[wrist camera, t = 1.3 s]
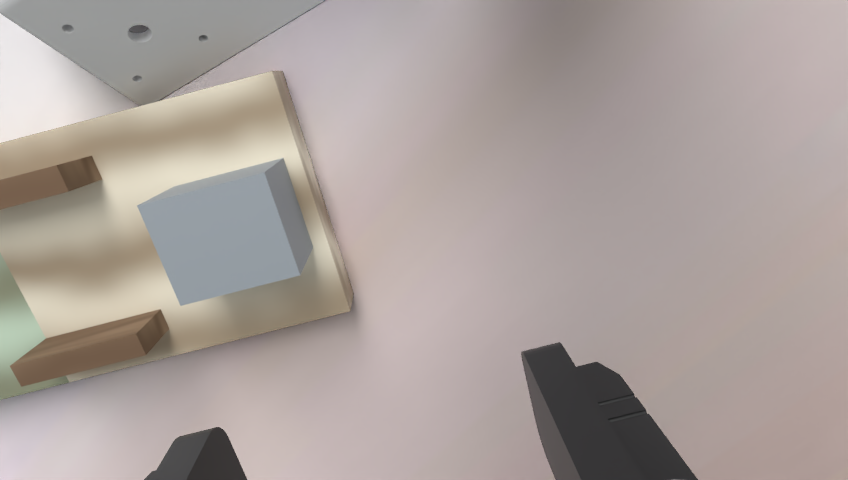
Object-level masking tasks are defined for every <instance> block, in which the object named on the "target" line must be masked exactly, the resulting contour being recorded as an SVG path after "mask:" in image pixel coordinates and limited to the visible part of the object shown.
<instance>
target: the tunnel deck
mask: <svg viewBox="0 0 848 480" xmlns="http://www.w3.org/2000/svg"><path fill="white" fill-rule="evenodd" d="M281 158H284V161H285V164H286V167H287V170H288V173H289V176H290V179H291V182H292V185H293V188H294V191H295V194H296V197H297V200H298V203H299V206H300V209H301V212H302V215H303V218H304V221H305V224H306V227H307V230H308V233H309V236H310V239H311V242H312V245H313V249H312V251H311V253H310V256H309V258H308V260H307V262H306V264H305V266H304V268H303V271H302V273H301V275H300V276H296V277H292V278H288V279H284V280H280V281H276V282H272V283H268V284H264V285H261V286H257V287H253V288H249V289H245V290H241V291H237V292H233V293H229V294H225V295H221V296H217V297H214V298H210V299H206V300H202V301H198V302H194V303H190V304H186V305H182V306H180V304H179V301H178V299H177V297H176V294H175V292H174V290H173V288H172V285H171V283H170V281H169V278H168V276H167V274H166V271H165V269H164V267H163V265H162V262H161V260H160V258H159V255H158V253H157V251H156V248H155V246H154V244H153V241H152V239H151V237H150V235H149V232H148V230H147V228H146V225H145V223H144V221H143V218H142V216H141V214H140V212H139V209H138V207H137V205H139V204H141V203H143V202H145V201H147V200H149V199H151V198H153V197H155V196H157V195H159V194H161V193H163V192H165V191H166V190H168V189H170V188H172V187H174V186H178V185H182V184H185V183H189V182H193V181H197V180H201V179H205V178H208V177H212V176H216V175H220V174H224V173H227V172H231V171H235V170H239V169H243V168H247V167H250V166H254V165H258V164H262V163H266V162H269V161H273V160H277V159H281ZM353 294H354V293H353V290H352V287H351V284H350V281H349V278H348V275H347V272H346V268H345V265H344V262H343V259H342V256H341V253H340V250H339V246H338V243H337V240H336V237H335V234H334V231H333V228H332V225H331V221H330V218H329V215H328V212H327V209H326V206H325V203H324V199H323V196H322V193H321V190H320V187H319V184H318V181H317V178H316V174H315V171H314V168H313V165H312V162H311V159H310V156H309V152H308V149H307V146H306V143H305V140H304V137H303V134H302V131H301V127H300V124H299V121H298V118H297V115H296V112H295V109H294V105H293V102H292V99H291V96H290V93H289V90H288V87H287V84H286V80H285V77H284V74H283V71H270V72H266V73H262V74H259V75H255V76H251V77H247V78H244V79H240V80H236V81H232V82H229V83H225V84H221V85H217V86H214V87H210V88H206V89H202V90H199V91H195V92H191V93H187V94H183V95H180V96H176V97H172V98H168V99H165V100H161V101H157V102H153V103H150V104H146V105H142V106H138V107H135V108H131V109H127V110H123V111H120V112H116V113H112V114H108V115H105V116H101V117H97V118H93V119H90V120H86V121H82V122H78V123H75V124H71V125H67V126H63V127H60V128H56V129H52V130H48V131H44V132H41V133H37V134H33V135H29V136H26V137H22V138H18V139H14V140H11V141H7V142H3V143H0V400H2V399H6V398H10V397H14V396H18V395H22V394H26V393H30V392H33V391H37V390H41V389H45V388H49V387H53V386H57V385H61V384H65V383H69V382H73V381H77V380H81V379H85V378H89V377H93V376H97V375H101V374H105V373H108V372H112V371H116V370H120V369H124V368H128V367H132V366H136V365H140V364H144V363H148V362H152V361H156V360H160V359H164V358H168V357H172V356H176V355H180V354H184V353H187V352H191V351H195V350H199V349H203V348H207V347H211V346H215V345H219V344H223V343H227V342H231V341H235V340H239V339H243V338H247V337H251V336H255V335H259V334H262V333H266V332H270V331H274V330H278V329H282V328H286V327H290V326H294V325H298V324H302V323H306V322H310V321H314V320H318V319H322V318H326V317H330V316H334V315H337V314H341V313H345V312H349V311H350V310H351V305H352V299H353Z"/></svg>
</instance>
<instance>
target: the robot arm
mask: <svg viewBox="0 0 848 480" xmlns="http://www.w3.org/2000/svg"><path fill="white" fill-rule="evenodd" d="M521 355H522V361H523V366H524V371H525V375H526V380H527V384H528V389H529V393H530V398H531V402H532V407H533V411H534V416H535V420H536V424H537V428H538V432H539V435H540V439H541V442H542V445H543V448H544V451H545V454H546V457H547V459H548V462H549V464H550V467H551V469H552V472H553V474H554V477H555V479H556V480H698V479H697V478H696V477H695V475H694V474H693V473H692V471H691V470H690V469H689V467H688V466H687V465H686V463H685V462H684V461H683V459H682V458H681V456H680V455H679V454H678V452H677V451H676V450H675V448H674V447H673V446H672V444H671V443H670V442H669V440H668V439H667V438H666V436H665V435H664V434H663V432H662V431H661V430H660V428H659V427H658V426H657V424H656V423H655V421H654V420H653V419H652V417H651V416H650V415H649V414H647V412H646V409H645V408H644V407H643V405H642V404H641V403H640V401H639V400H638V399H637V397H636V398H635V396H634V393H633V392H632V391H631V389H630V388H629V386H628V385H627V384H626V382H625V381H624V380H623V378H622V377H621V376H620V375H619V374H618V373H616V372H614V371H612V370H610V369H609V368H607V367H605V366H603V365H602V364H600V363H598V362H594V363H590V364H586V365H582V366H578V367H575V365H574V363H573V362H572V360H571V358H570V357H569V355H568V354H567V352H566V350H565V349H564V347H563V345H562V344H561V343H560V342H559V343H555V344H551V345H547V346H543V347H539V348H535V349H531V350H527V351H523V352H521ZM144 480H247V478H246V476H245V474H244V471H243V469H242V467H241V465H240V462H239V460H238V458H237V456H236V453H235V451H234V449H233V447H232V444H231V442H230V440H229V438H228V436H227V434H226V432H225V431H224V430H223V429H221V428H219V427H216V428H212V429H208V430H204V431H200V432H196V433H192V434H188V435H184V436H180V437H178V438H177V439H175V441H174V442H173V443H172V445H171V447H170V448H169V450H168V452H167V453H166V455H165V457H164V458H163V460H162V462H161V463H160V465H159V467H158V468H157V470H156V471H152V472H151V473H150V474H149V475H148V476H147V477H146V478H145V479H144Z"/></svg>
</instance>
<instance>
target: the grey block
mask: <svg viewBox="0 0 848 480" xmlns="http://www.w3.org/2000/svg"><path fill="white" fill-rule="evenodd" d="M137 207H138V209H139V212H140V214H141V216H142V218H143V221H144V223H145V225H146V228H147V230H148V232H149V235H150V237H151V239H152V241H153V244H154V246H155V248H156V251H157V253H158V255H159V258H160V260H161V262H162V265H163V267H164V269H165V271H166V274H167V276H168V278H169V281H170V283H171V285H172V288H173V290H174V292H175V294H176V297H177V299H178V301H179V304H180V306H182V305H186V304H190V303H194V302H198V301H202V300H206V299H210V298H214V297H217V296H221V295H225V294H229V293H233V292H237V291H241V290H245V289H249V288H253V287H257V286H261V285H264V284H268V283H272V282H276V281H280V280H284V279H288V278H292V277H296V276H300V275H301V273H302V271H303V268H304V266H305V264H306V262H307V260H308V258H309V256H310V253H311V251H312V249H313V245H312V242H311V239H310V236H309V233H308V230H307V227H306V224H305V221H304V218H303V215H302V212H301V209H300V206H299V203H298V200H297V197H296V194H295V191H294V188H293V185H292V182H291V179H290V176H289V173H288V170H287V167H286V164H285V161H284V158H281V159H277V160H273V161H269V162H266V163H262V164H258V165H254V166H250V167H247V168H243V169H239V170H235V171H231V172H227V173H224V174H220V175H216V176H212V177H208V178H205V179H201V180H197V181H193V182H189V183H185V184H182V185H178V186H174V187H172V188H170V189H168V190H166V191H165V192H163V193H161V194H159V195H157V196H155V197H153V198H151V199H149V200H147V201H145V202H143V203H141V204H139V205H137Z"/></svg>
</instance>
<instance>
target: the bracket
mask: <svg viewBox="0 0 848 480" xmlns="http://www.w3.org/2000/svg"><path fill="white" fill-rule="evenodd" d="M323 1H325V0H0V13H1V14H2V15H3V16H5V17H6V18H8V19H9V20H11V21H13V22H14V23H16V24H17V25H19V26H20V27H22V28H23V29H25V30H26V31H28V32H29V33H31V34H32V35H34V36H35V37H37V38H38V39H40V40H41V41H43V42H44V43H46V44H47V45H49V46H50V47H52V48H53V49H55V50H56V51H58V52H59V53H61V54H62V55H64V56H65V57H67V58H68V59H70V60H71V61H73V62H74V63H76V64H77V65H79V66H80V67H82V68H83V69H85V70H86V71H88V72H89V73H91V74H92V75H94V76H96V77H97V78H99V79H100V80H102V81H103V82H105V83H106V84H108V85H109V86H111V87H112V88H114V89H115V90H117V91H118V92H120V93H121V94H123V95H124V96H126V97H127V98H129V99H130V100H132V101H133V102H135V103H136V104H139V105H146V104H150V103H153V102H157V101H159V100H160V99H162V98H164V97H165V96H167V95H169V94H170V93H172V92H174V91H175V90H177V89H179V88H180V87H182V86H184V85H185V84H187V83H189V82H190V81H192V80H194V79H195V78H197V77H199V76H200V75H202V74H204V73H205V72H207V71H209V70H210V69H212V68H214V67H215V66H217V65H219V64H220V63H222V62H224V61H225V60H227V59H228V58H230V57H232V56H233V55H235V54H237V53H238V52H240V51H242V50H243V49H245V48H247V47H248V46H250V45H252V44H253V43H255V42H257V41H258V40H260V39H262V38H263V37H265V36H267V35H268V34H270V33H272V32H273V31H275V30H277V29H278V28H280V27H282V26H283V25H285V24H287V23H288V22H290V21H292V20H293V19H295V18H297V17H298V16H300V15H302V14H303V13H305V12H307V11H308V10H310V9H312V8H313V7H315V6H316V5H318V4H320V3H321V2H323ZM135 25H144V26H147V27H148V29H147V30H146V31H144V32H142V33H133V32H131V31H129V29H130V28H131V27H132V26H135Z"/></svg>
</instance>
